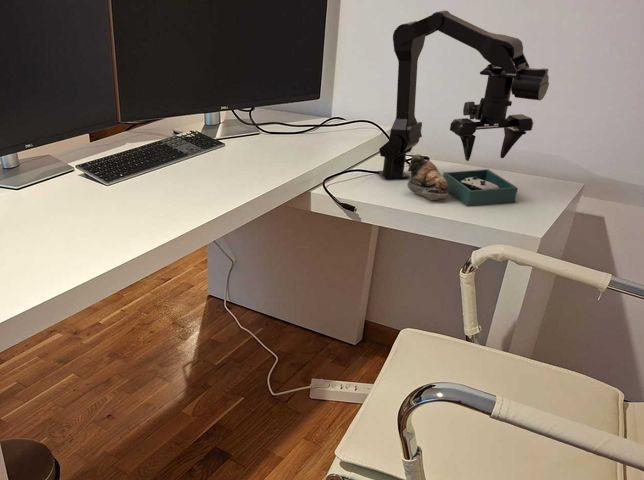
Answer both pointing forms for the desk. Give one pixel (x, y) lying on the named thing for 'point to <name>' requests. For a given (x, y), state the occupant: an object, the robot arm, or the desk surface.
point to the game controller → (478, 184)
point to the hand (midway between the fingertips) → (484, 159)
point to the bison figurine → (426, 179)
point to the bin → (480, 197)
